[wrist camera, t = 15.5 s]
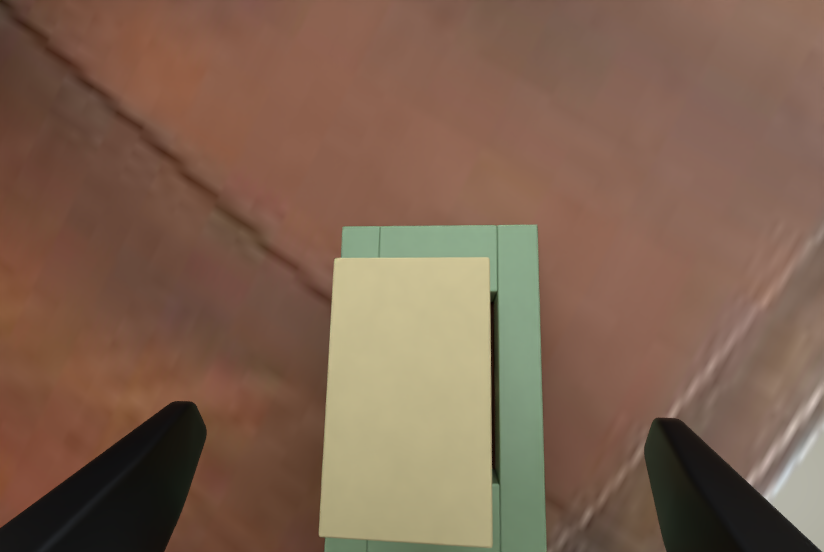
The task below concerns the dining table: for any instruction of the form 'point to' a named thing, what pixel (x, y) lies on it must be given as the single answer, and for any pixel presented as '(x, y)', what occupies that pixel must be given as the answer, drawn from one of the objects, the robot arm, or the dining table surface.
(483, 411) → the beige rectangular block
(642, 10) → the dining table surface
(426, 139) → the dining table surface
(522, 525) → the base
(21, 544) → the robot arm
